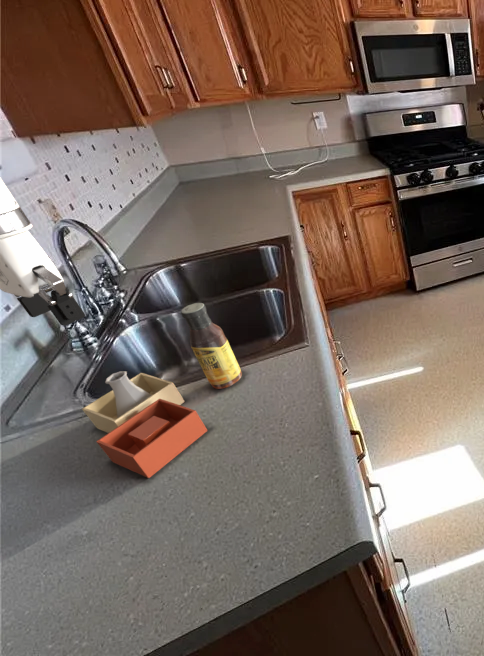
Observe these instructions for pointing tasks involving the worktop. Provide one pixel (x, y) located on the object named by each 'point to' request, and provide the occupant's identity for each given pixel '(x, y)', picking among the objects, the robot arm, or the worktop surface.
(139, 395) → the flask
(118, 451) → the terracotta bin
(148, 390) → the cream bin
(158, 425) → the terracotta block
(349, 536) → the worktop surface
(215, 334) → the sauce bottle
